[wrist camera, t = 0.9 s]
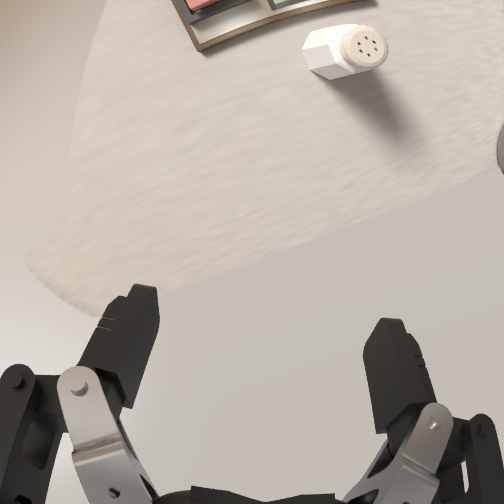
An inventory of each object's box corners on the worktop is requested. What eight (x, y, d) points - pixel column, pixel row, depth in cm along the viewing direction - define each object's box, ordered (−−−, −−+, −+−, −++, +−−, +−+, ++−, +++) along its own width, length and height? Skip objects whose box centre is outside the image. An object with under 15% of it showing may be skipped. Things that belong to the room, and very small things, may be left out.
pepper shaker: (328, 91, 25) (363, 106, 16) (288, 49, 23) (302, 37, 14) (370, 58, 23) (424, 60, 13) (331, 16, 20) (368, -10, 11)
